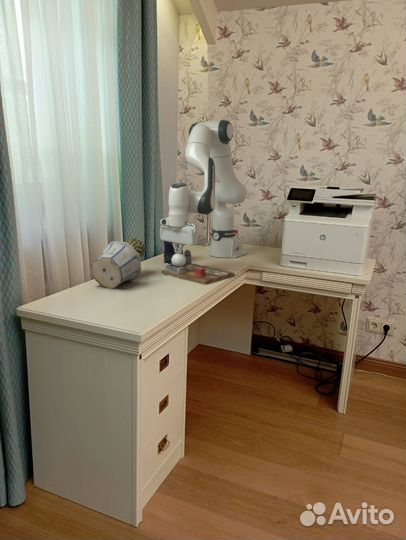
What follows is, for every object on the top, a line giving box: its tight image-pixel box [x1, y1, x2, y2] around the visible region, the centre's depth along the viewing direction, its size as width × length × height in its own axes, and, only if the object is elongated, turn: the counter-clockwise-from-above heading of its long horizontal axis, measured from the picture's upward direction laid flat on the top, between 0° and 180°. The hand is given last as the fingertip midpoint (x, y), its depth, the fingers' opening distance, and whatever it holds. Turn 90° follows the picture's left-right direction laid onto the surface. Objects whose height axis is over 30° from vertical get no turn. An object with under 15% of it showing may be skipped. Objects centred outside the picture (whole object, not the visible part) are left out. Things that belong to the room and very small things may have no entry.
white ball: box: [171, 253, 186, 268], centre depth 190 cm, size 6×6×6 cm
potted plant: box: [90, 237, 146, 289], centre depth 177 cm, size 18×18×30 cm
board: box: [160, 262, 235, 285], centre depth 190 cm, size 20×26×5 cm
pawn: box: [183, 249, 192, 265], centre depth 199 cm, size 4×4×8 cm
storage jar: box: [163, 241, 184, 265], centre depth 213 cm, size 10×10×15 cm
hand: (178, 252), depth 189 cm, fingers closed
